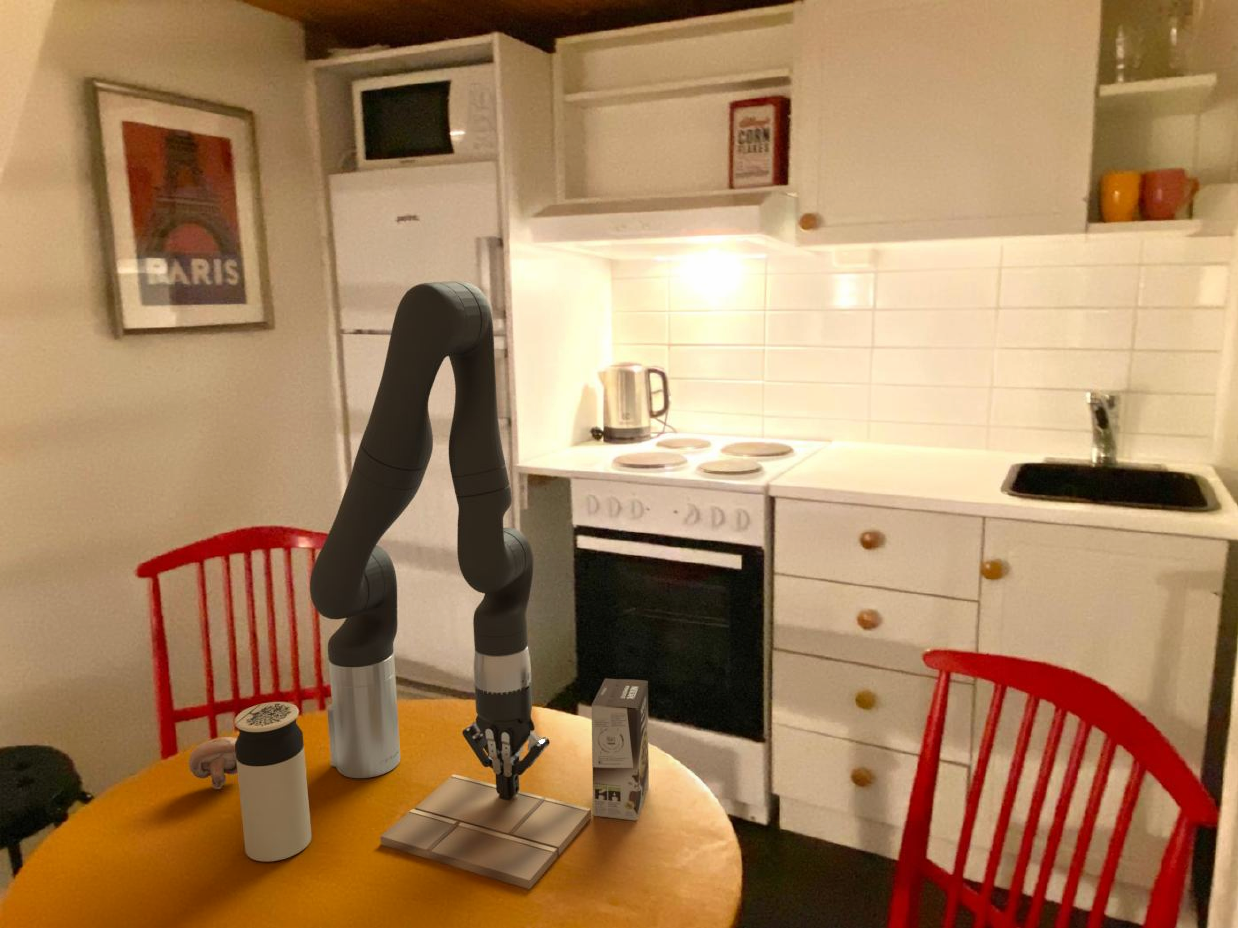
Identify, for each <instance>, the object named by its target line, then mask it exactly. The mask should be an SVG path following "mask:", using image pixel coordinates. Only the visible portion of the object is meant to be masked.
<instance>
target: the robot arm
mask: <svg viewBox="0 0 1238 928" xmlns="http://www.w3.org/2000/svg"><path fill="white" fill-rule="evenodd" d="M493 322H494V321H493V314H492V309H491V306H490V304H489V301H488V299H487V297H486V295H485V294H484V293H483V291H482V290H481V289H480V288H479V287H477V286H476V285H475V284H472V283H470V282H465V281H437V282H436V281H434V282H424V283H419V284H416V285H414V286H412V287H410V288H409V289H408V290H407V291H406V292H405V293H404V295H403V296H402V298H401V299H400V302H399V303H398V306H397V309H396V312H395V315H394V319H393V323H392V328H391V333H390V338H389V342H388V347H387V348H388V349H387V353H386V357H385V362H384V366H383V370H382V374H381V379H380V382H379V386H378V390H377V392H376V395H375V399H374V402H373V406H372V409H371V413H370V416H369V418H368V422H367V424H366V428H365V430H364V431H363V435H362V437H361V441H360V444H359V446H358V450H357V453H356V455H355V459H354V462H353V466H352V470H351V473H350V476H349V480H348V483H347V485H346V487H345V491H344V493H343V496H342V499H341V502H340V504H339V508H338V510H337V514H336V516H335V518H334V521H333V523H332V525H331V528H330V530H329V532H328V534H327V536H326V539H325V541H324V543H323V544H322V547H321V549H320V551H319V552H318V554H317V555H318V556H317V558H316V560H315V562H314V565H313V567H312V569H311V574H310V579H309V593H310V594H309V595H310V599H311V602H312V604H313V606H314V608H315V610H316V611H317V612H318V613H319V614H320V615H321V616H322V617H325V618H327V619H329V620H343V619H344V621H343V622H342V624H341V625H340V627H338V629H337V630H336V631H335V632H334V633H333V634H331V636H330V638H329V639H328V643H327V658H328V669H329V672H328V673H329V680H330V681H329V682H330V683H329V684H330V695H331V703H330V704H328V706H327V708H326V713H327V714H326V715H327V724H328V725H327V726H328V736H329V738H328V739H329V748H330V749H329V750H330V751H329V752H330V764H331V766H332V767H334V768H336V769H337V771H338V773H340V775H343V776H344V777H348V778H354V779H369V778H373V777H378V776H381V775H384V774H386V773H388V772H390V771H392V770H394V769H395V768H396V767H397V766H398V765H399V764H400V762H401V748H400V747H401V746H400V727H399V713H398V712H399V711H398V700H397V699H398V698H397V695H398V694H397V683H396V668H395V665H396V664H395V651H394V643H395V639H396V636H397V634H398V633H397V632H398V625H399V624H398V583H397V582H398V581H397V574H396V568H395V566H394V563H393V561H392V559H391V557H390V555H389V554H388V552H387V551H386V550H384V548H382V547H381V546H379V545H377V544H378V543H379V541H380V540H381V538H382V537H384V535H385V534H386V532H387V531H388V530H389V528H391V526H392V525H393V524H394V523H395V522H396V521H397V520H398V518H400V516H401V515H402V514H403V512H405V510H406V509H407V508H408V506H409V505H410V504H411V502H412V501H413V500H414V498H415V496H416V495H417V493H418V491H419V489H420V487H421V485H422V482H423V480H424V478H425V477H424V476H425V474H426V471H427V468H428V466H429V463H430V461H431V458H432V454H433V448H434V446H433V445H434V437H433V435H434V434H433V429H432V423H431V418H430V413H429V400H430V395H431V392H432V389H433V386H434V383H435V380H436V377H437V374H438V372H439V369H440V368H441V367H442V364H443V362H444V360H445V358H447V357H448V358H449V361H450V362H449V363H450V365H451V368H452V372H453V377H454V387H455V394H454V395H455V396H454V406H453V415H452V419H451V425H450V430H449V431H450V432H449V437H448V438H449V439H448V460H449V461H448V462H449V463H448V465H449V469H450V470H449V471H450V475H451V481H452V484H453V488H454V494H455V499H456V502H457V503H456V504H457V507H458V514H457V542H456V543H457V544H456V545H457V547H456V549H457V552H456V553H457V561H458V565H459V570H460V572H461V575H462V577H463V579H464V580H465V582H466V583H467V585H468V586H469V587H470V588H472V590H474V591H476V592H478V593H480V594H484V595H483V598H482V601H480V603H479V604H478V606H477V607H476V608H475V610H474V614H473V623H472V624H473V644H474V655H473V679H474V699H475V700H474V701H475V713H476V714H477V716H476V717H475V721H474V722H472V723H471V724H470V725H468V726H466V728H464V729H463V730H462V732H461V733H462V735H463V737H464V739H465V741H466V743H468V745H469V747H470V748H471V750H472V751H473V753H474V754H475V755H476V757H477V759H478V760H479V761H480V763H481V765H482V766H483V767H484V768H491V769H492V771H493V773H494V774H495V785H496V790H497V793H498V794H499V798H501V799H505V800H511V799H512V798H513V797H514V796H515V795H516V794H517V793H518V791H520V778H519V777H520V776H521V775H523V774H524V773H525V772H526V770H528V769H529V768H531V767H532V766H533V764H534V763H535V762H536V761H537V759H538V758H539V757H540V756H541V755H542V753H543V752H544V751H545V750H546V749H547V748H548V746H549V745H550V739H549V738H548V737H546V736H543V737H541V736H540V735H539V734H538V733H537V732H536V731H535V729H536V728H535V727H536V726H535V723H534V721H533V719H532V710H533V699H532V698H533V696H532V695H533V694H532V669H531V656H530V652H529V642H528V623H527V621H528V620H527V610H528V607H529V606H528V604H529V602H530V601H529V600H530V595H531V587H532V581H533V574H534V554H533V550H532V547H531V544H530V542H529V540H528V539H527V537H526V535H525V534H524V533H522V532H521V531H520V530H518V529H516V528H513V527H504V516H505V514H506V512H507V511H508V510H509V509H510V507H511V505H512V503H513V502H512V500H513V499H512V498H513V497H512V490H511V485H510V480H509V475H508V471H507V465H506V460H505V456H504V450H503V446H502V440H501V439H502V438H501V432H500V425H499V424H500V423H499V415H498V401H497V400H498V399H497V378H496V375H497V374H496V361H495V335H494V334H495V333H494V323H493ZM527 741H528V744H527V749H526V750H527V751H528V753H526V755H525V756H524V757H523V758H522V753H523V751H524V745H525V744H526V743H527Z"/></svg>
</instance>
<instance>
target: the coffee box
mask: <svg viewBox="0 0 1238 928" xmlns="http://www.w3.org/2000/svg"><path fill="white" fill-rule="evenodd" d="M648 684H649V681H648V680H643V679H626V678H625V679H622V678H620V679H616V678H604V680H603V681H602V684H601V686H600V687H599V690H598V692H597V693H596V694H595V695H596V696H594V697H595V698H594V700H593V701H592V703H591V742H592V743H591V757H592V758H591V761H592V763H591V764H592V815H593V817H602V818H610V819H611V818H612V819H618V820H628V821H637V820H638V819H639V817H640V813H641V811H642V806H643V803H644V801H645V799H646V796H647V792H648V790H649V789H648V788H649V776H650V775H649V774H650V773H649V772H650V771H649V761H650V760H649V759H650V757H649V685H648Z"/></svg>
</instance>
